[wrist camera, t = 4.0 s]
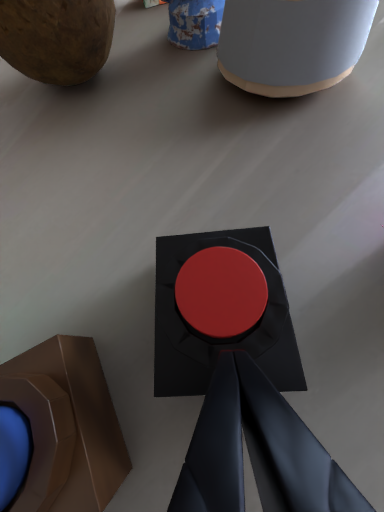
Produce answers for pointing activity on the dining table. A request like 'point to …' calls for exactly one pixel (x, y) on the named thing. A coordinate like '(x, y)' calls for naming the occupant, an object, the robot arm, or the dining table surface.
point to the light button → (221, 292)
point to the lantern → (195, 23)
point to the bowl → (56, 38)
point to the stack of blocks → (152, 3)
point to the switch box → (207, 348)
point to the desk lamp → (292, 43)
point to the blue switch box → (66, 427)
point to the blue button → (13, 453)
